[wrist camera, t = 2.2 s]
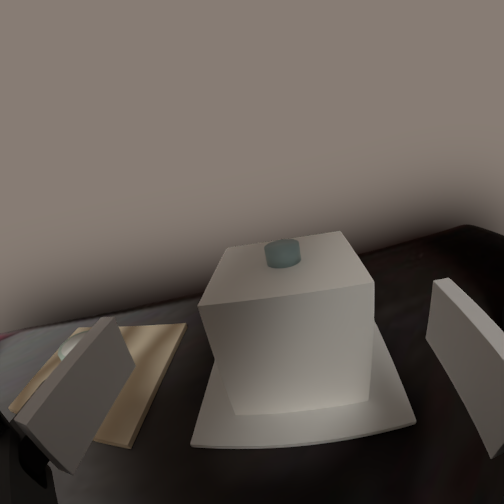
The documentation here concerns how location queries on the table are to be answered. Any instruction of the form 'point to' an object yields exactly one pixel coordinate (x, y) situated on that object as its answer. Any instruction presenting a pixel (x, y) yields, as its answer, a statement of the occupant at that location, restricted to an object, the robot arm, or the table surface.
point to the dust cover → (291, 324)
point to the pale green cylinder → (70, 344)
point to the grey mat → (306, 414)
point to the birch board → (137, 386)
